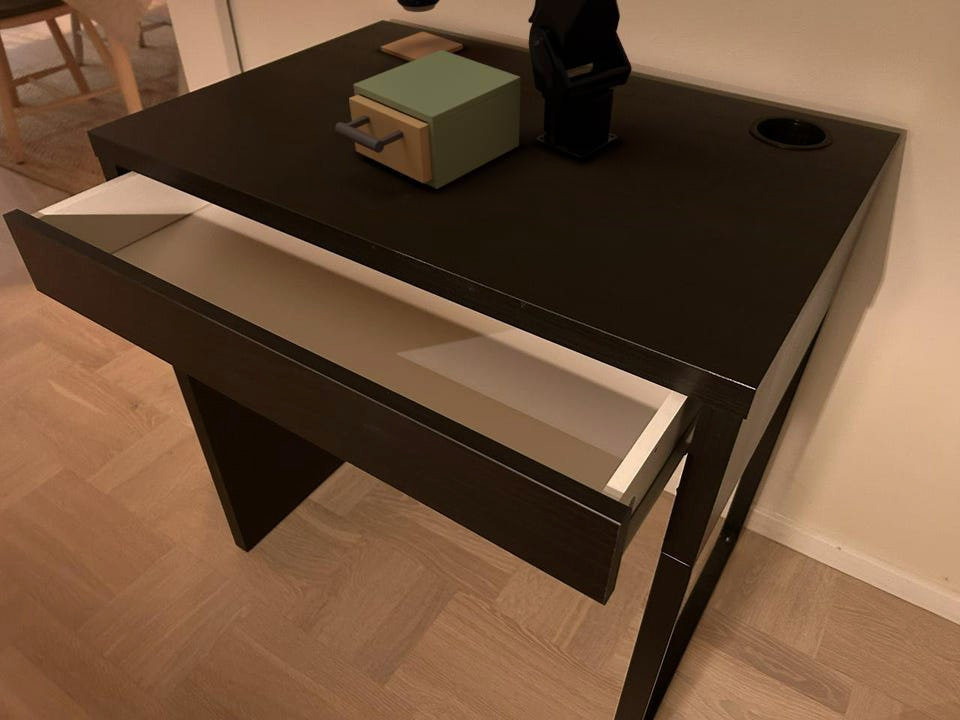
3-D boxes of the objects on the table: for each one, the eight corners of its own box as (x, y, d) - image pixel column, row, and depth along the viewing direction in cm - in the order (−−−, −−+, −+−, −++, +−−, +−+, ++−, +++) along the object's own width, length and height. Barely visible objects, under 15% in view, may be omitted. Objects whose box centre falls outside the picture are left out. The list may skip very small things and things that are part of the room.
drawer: (394, 198, 72) (389, 142, 68) (327, 164, 77) (318, 110, 73) (501, 143, 80) (501, 90, 76) (433, 115, 85) (430, 65, 81)
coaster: (462, 48, 103) (462, 44, 103) (420, 65, 99) (420, 61, 98) (423, 35, 107) (422, 31, 107) (380, 51, 103) (380, 46, 103)
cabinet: (436, 189, 75) (432, 116, 70) (361, 153, 81) (352, 84, 76) (519, 145, 82) (520, 76, 76) (444, 115, 87) (441, 49, 82)
